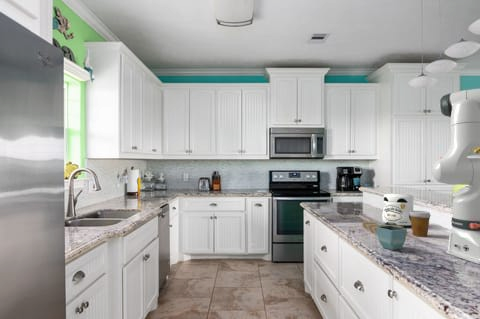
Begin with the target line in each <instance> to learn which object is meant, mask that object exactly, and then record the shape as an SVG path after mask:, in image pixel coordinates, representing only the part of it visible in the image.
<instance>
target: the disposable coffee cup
mask: <svg viewBox="0 0 480 319" xmlns="http://www.w3.org/2000/svg"><path fill="white" fill-rule="evenodd" d="M409 214H410V218H411V225H412V226H411V231H412V232H411V233H412V236H415V237H417V238H418V237H419V238H427V237H428V235H429V234H428V232H429V226H430V218H431V216H432V215H431V213H430V212H429V211H427V210H426V211H425V210H424V211H423V210H413V211H410V213H409Z"/></svg>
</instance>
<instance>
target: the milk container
mask: <svg viewBox="0 0 480 319" xmlns="http://www.w3.org/2000/svg"><path fill="white" fill-rule="evenodd" d="M410 211H414V196H413V194H405V193H385V194H383V210H382V214H381V216H382V218H381V219H382V222H383V223H384V225H399V226H402V227H404V228H407V227H412V225H411V218H410V214H409V213H410Z"/></svg>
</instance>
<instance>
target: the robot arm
mask: <svg viewBox="0 0 480 319" xmlns="http://www.w3.org/2000/svg"><path fill="white" fill-rule="evenodd" d="M439 110H440V112H441V114H442V115H443V116H445V117H449V118H450V121H449V122H450V142H449V147H448V149H447V151H446V152H445V154H443V156H442V157H440V158H439V159H438V160H436V161H435V162H434V163H433V165H432V168H431V173H432V176H433V178H434V180H435V181H436V182H437V183H441V184H445V185H456V186H457V185H459V186H461V187H459V188H458V189H457V190H456V191H455V192H453V194H452V198H453V200H452V217H451V221H450V222H451V226H452V228H451V230H450V232H449V237H448V247H447V248H448V249H446V250H445V254H448V255H450V256H453V257H456V258H460V259H462V260H465V261H468V262H471V263H475V264H478V265H480V153H475V152H474V150H476V149H478V148H479V147H480V88H472V89H465V90H460V91H459V90H458V91H455V92H453V93H447V94H445V95H443V96H442V97H441V98H440V100H439ZM464 185H466V186H464Z"/></svg>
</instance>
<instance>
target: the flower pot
mask: <svg viewBox="0 0 480 319" xmlns="http://www.w3.org/2000/svg"><path fill="white" fill-rule="evenodd" d="M376 228H377V234H376V236H377V239H378V240H377V241H378V242H379V244H380V246H381V247H382V248H384V249H387V250H391V251H395V250H401V249H402V248H403V246H404V245H405V241H406V239H407V238H406V237H407V231H408V229H407V228H405V227H404V228H400V227H395V226H379V227H376Z"/></svg>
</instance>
